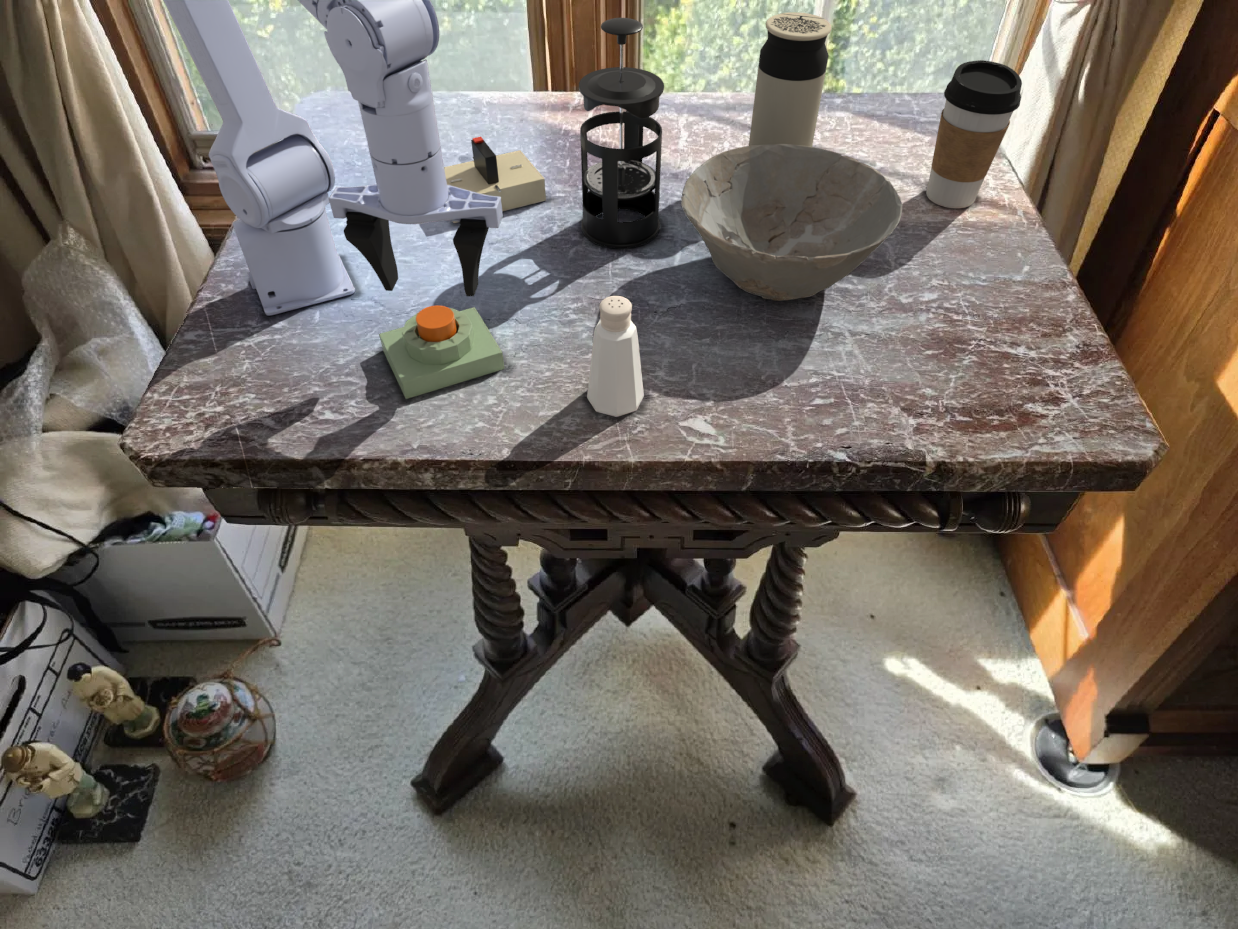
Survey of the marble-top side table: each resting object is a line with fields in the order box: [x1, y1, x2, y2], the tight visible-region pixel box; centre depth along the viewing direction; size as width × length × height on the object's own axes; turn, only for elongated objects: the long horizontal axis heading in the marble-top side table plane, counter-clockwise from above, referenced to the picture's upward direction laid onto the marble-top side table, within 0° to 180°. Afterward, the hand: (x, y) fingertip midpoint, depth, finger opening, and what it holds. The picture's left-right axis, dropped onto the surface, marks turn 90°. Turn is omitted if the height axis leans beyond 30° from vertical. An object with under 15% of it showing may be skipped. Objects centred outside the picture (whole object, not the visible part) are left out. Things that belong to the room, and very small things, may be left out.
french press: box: [578, 17, 665, 250], centre depth 93 cm, size 12×9×23 cm
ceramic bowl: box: [680, 144, 903, 302], centre depth 91 cm, size 22×23×10 cm
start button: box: [416, 304, 456, 342], centre depth 81 cm, size 4×4×2 cm
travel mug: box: [748, 11, 832, 147], centre depth 104 cm, size 8×8×18 cm
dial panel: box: [444, 149, 547, 224], centre depth 105 cm, size 12×9×3 cm
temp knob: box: [470, 136, 499, 184], centre depth 102 cm, size 5×1×4 cm, turn 26°
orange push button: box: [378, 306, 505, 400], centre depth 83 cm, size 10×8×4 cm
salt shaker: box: [586, 295, 645, 418], centre depth 77 cm, size 5×5×11 cm
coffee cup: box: [925, 59, 1023, 209], centre depth 101 cm, size 8×8×15 cm
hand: (432, 287), depth 79 cm, fingers open, 7 cm apart
